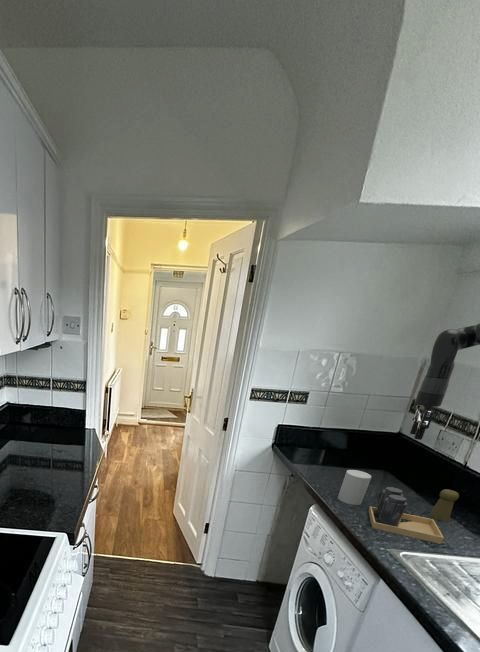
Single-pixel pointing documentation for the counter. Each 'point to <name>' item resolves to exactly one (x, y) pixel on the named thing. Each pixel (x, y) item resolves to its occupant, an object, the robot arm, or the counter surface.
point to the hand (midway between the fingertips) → (415, 436)
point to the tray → (411, 527)
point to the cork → (444, 505)
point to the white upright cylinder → (354, 487)
